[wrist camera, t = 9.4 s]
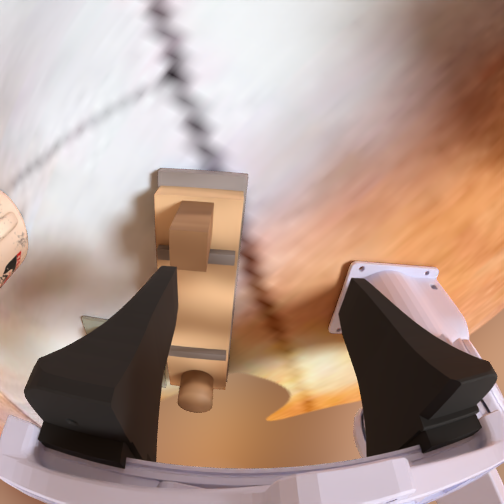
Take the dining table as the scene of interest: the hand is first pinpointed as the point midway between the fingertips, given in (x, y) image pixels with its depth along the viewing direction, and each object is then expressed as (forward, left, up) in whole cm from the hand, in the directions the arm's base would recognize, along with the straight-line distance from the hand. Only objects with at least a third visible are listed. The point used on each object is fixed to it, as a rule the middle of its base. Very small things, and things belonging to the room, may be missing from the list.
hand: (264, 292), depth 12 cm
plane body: (+4, +9, -10) cm, 14 cm away
